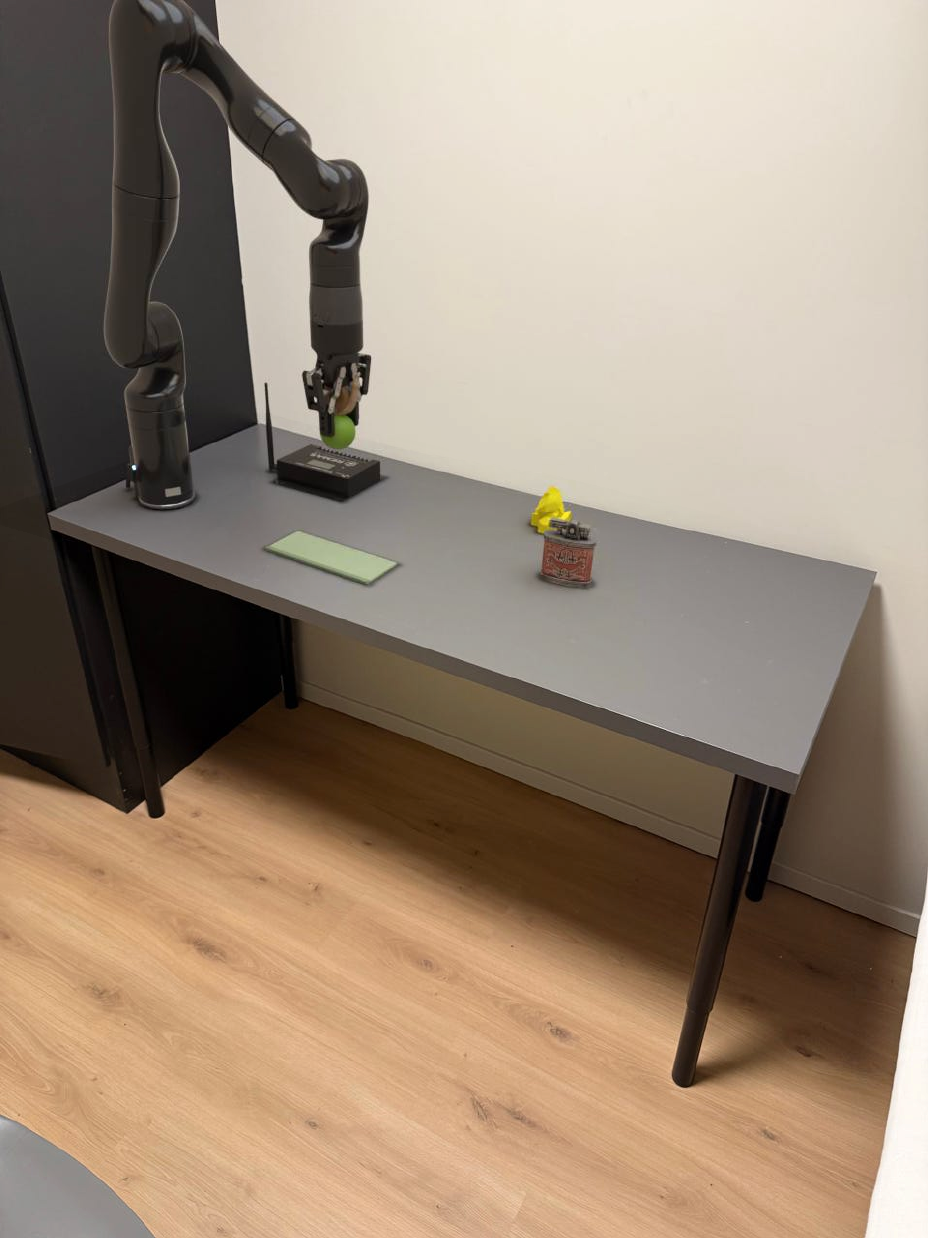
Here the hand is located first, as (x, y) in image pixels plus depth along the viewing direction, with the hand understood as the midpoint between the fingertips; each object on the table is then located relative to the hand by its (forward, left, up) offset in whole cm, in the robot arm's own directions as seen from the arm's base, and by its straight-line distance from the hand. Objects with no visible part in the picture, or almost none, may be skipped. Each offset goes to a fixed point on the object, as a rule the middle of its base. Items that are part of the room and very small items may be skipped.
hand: (339, 430), depth 139 cm
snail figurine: (0, 0, -3) cm, 3 cm away
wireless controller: (-21, +21, -20) cm, 35 cm away
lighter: (+35, +11, -20) cm, 42 cm away
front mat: (+1, -4, -20) cm, 20 cm away
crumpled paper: (+24, +28, -20) cm, 41 cm away
